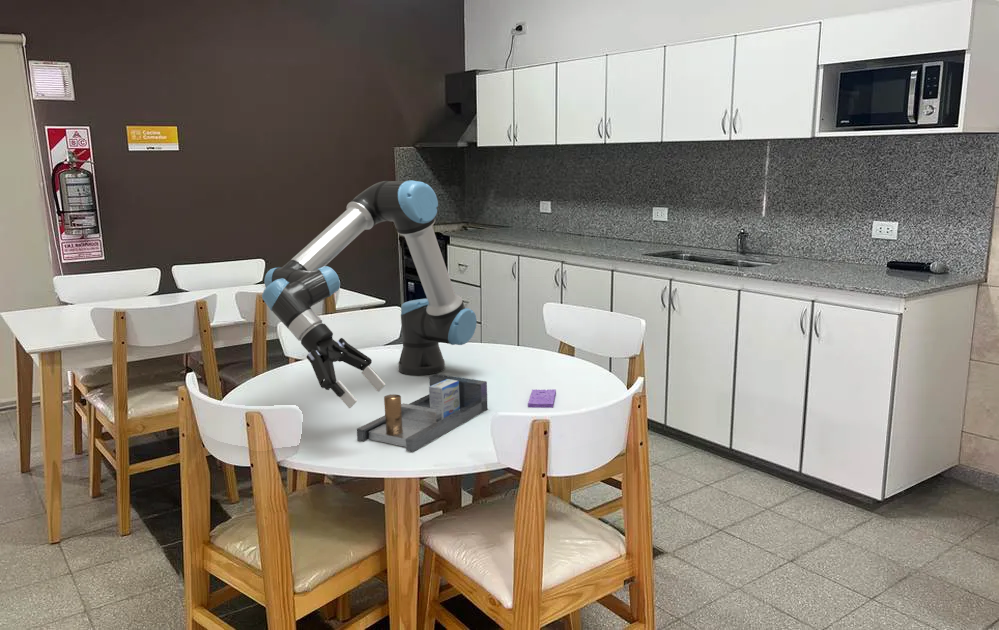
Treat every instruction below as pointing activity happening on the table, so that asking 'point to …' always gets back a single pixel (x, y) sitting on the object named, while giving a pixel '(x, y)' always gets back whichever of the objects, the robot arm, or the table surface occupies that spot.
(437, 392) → the medicine box
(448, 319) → the robot arm
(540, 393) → the sponges
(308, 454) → the table surface
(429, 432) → the vise frame
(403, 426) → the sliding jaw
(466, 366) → the table surface
